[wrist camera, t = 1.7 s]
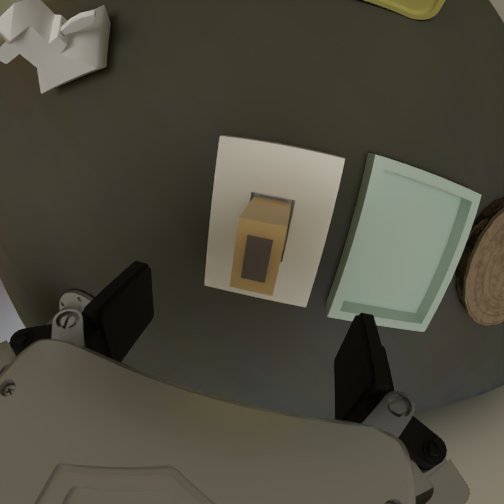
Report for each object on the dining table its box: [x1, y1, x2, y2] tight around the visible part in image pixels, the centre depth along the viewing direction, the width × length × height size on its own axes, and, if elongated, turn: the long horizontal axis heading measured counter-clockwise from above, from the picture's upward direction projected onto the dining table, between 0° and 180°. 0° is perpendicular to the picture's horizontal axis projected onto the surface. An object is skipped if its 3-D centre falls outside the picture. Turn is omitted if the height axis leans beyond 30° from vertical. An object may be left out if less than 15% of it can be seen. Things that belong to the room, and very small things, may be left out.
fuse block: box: [204, 136, 345, 307], centre depth 24 cm, size 14×10×3 cm
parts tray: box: [326, 153, 481, 332], centre depth 23 cm, size 16×12×2 cm
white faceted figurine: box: [0, 0, 111, 94], centre depth 14 cm, size 8×14×14 cm, turn 90°
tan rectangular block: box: [230, 195, 291, 296], centre depth 21 cm, size 5×3×8 cm, turn 172°
